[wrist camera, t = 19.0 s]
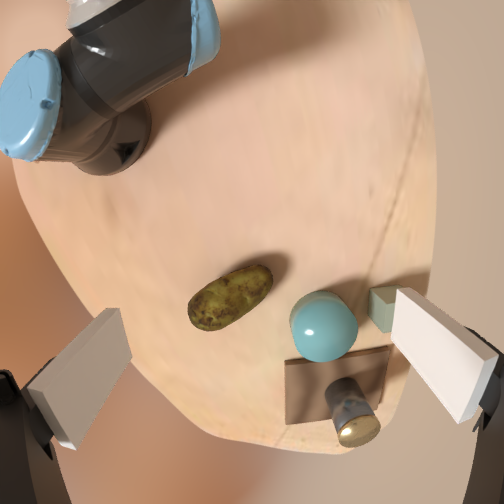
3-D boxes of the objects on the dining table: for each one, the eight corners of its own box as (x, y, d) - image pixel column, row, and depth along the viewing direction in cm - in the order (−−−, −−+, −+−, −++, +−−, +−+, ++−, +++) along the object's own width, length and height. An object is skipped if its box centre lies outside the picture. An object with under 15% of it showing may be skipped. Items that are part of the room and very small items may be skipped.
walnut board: (285, 420, 52) (285, 424, 51) (284, 360, 49) (285, 365, 47) (374, 405, 52) (377, 409, 51) (387, 346, 49) (390, 350, 47)
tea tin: (323, 407, 50) (337, 451, 38) (324, 380, 48) (340, 425, 36) (357, 400, 50) (377, 441, 38) (360, 373, 48) (383, 414, 36)
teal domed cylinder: (289, 346, 48) (294, 365, 42) (289, 293, 46) (294, 308, 40) (344, 339, 48) (354, 357, 42) (348, 288, 46) (360, 301, 40)
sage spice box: (367, 314, 47) (382, 333, 40) (369, 288, 46) (386, 304, 39) (396, 310, 47) (414, 327, 40) (399, 284, 46) (418, 299, 39)
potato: (276, 307, 46) (281, 330, 39) (199, 318, 47) (190, 342, 39) (269, 258, 45) (273, 273, 37) (188, 270, 45) (176, 288, 37)
